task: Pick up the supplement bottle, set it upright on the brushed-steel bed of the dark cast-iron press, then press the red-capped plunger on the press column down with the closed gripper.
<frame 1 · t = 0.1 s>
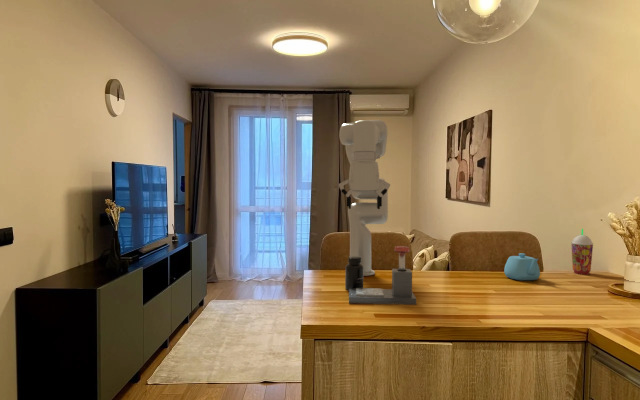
hand: (364, 208, 143), 31 cm above the countertop, tool pointing down, fingers open, 9 cm apart
teapot: (523, 279, 178), on the countertop
smoothie: (581, 273, 190), on the countertop
press: (381, 299, 145), on the countertop
supplement bottle: (354, 289, 160), on the countertop
plunger: (401, 263, 144), point 12 cm above the countertop, slide at 0.0 cm
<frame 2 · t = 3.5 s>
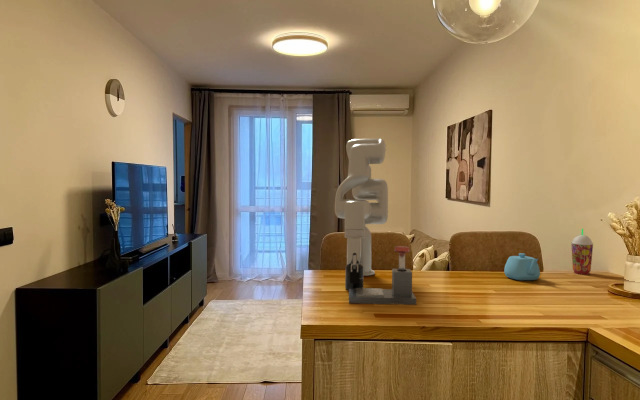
hand: (354, 280, 160), 3 cm above the countertop, tool pointing down, fingers closed on supplement bottle, 6 cm apart
supplement bottle: (354, 289, 160), on the countertop, touching gripper
everything else where it was.
when the fingers open (7 cm above the countertop, at t = 8.6 s): supplement bottle drops 1 cm, resting on press.
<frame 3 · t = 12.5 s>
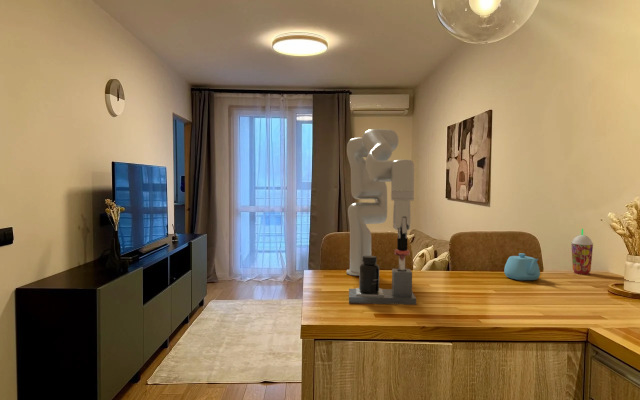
hand: (402, 250, 144), 17 cm above the countertop, tool pointing down, fingers closed
supplement bottle: (369, 291, 146), point 2 cm above the countertop, touching press
plunger: (401, 266, 144), point 11 cm above the countertop, slide at 1.0 cm, touching gripper
everything else where it was.
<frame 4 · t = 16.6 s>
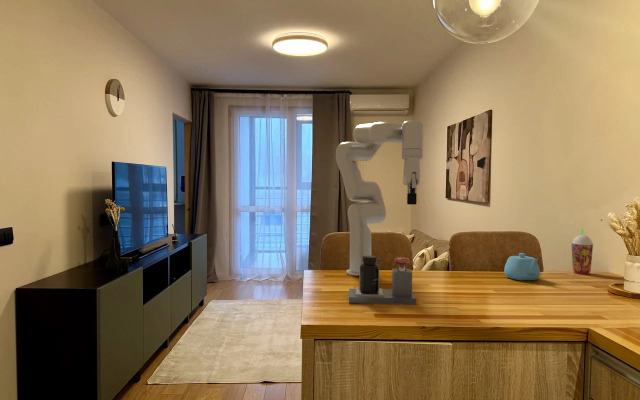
hand: (411, 204, 156), 32 cm above the countertop, tool pointing down, fingers closed
plunger: (401, 275, 144), point 8 cm above the countertop, slide at 3.9 cm
everything else where it was.
at the end: supplement bottle inside the target area on the press (0.3 cm from its centre), point 2.4 cm above the press's base; supplement bottle tilted 0°; plunger slide at 3.9 cm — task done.
